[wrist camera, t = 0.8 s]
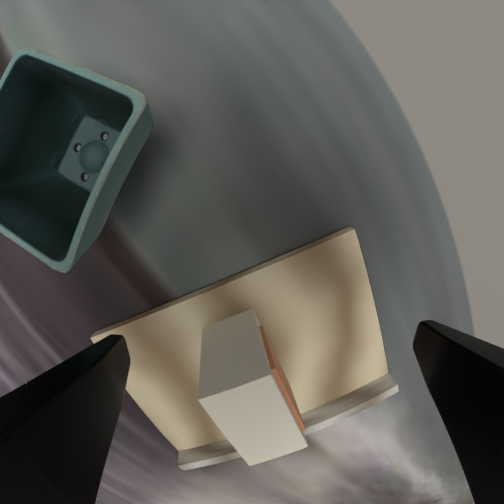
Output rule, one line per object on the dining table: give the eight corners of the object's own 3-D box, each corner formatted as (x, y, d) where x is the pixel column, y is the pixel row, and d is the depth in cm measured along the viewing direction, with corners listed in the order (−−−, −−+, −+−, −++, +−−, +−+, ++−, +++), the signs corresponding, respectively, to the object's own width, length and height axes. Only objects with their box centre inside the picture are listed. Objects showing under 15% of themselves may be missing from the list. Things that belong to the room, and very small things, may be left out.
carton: (239, 392, 24) (249, 466, 16) (202, 328, 22) (198, 399, 14) (286, 374, 24) (311, 445, 16) (256, 306, 22) (275, 372, 14)
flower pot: (178, 127, 19) (151, 95, 11) (120, 238, 21) (66, 279, 12) (82, 82, 17) (18, 43, 9) (33, 186, 19) (-44, 199, 10)
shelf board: (185, 450, 26) (183, 471, 24) (94, 332, 22) (81, 350, 19) (385, 375, 27) (398, 392, 24) (349, 226, 22) (367, 234, 19)
